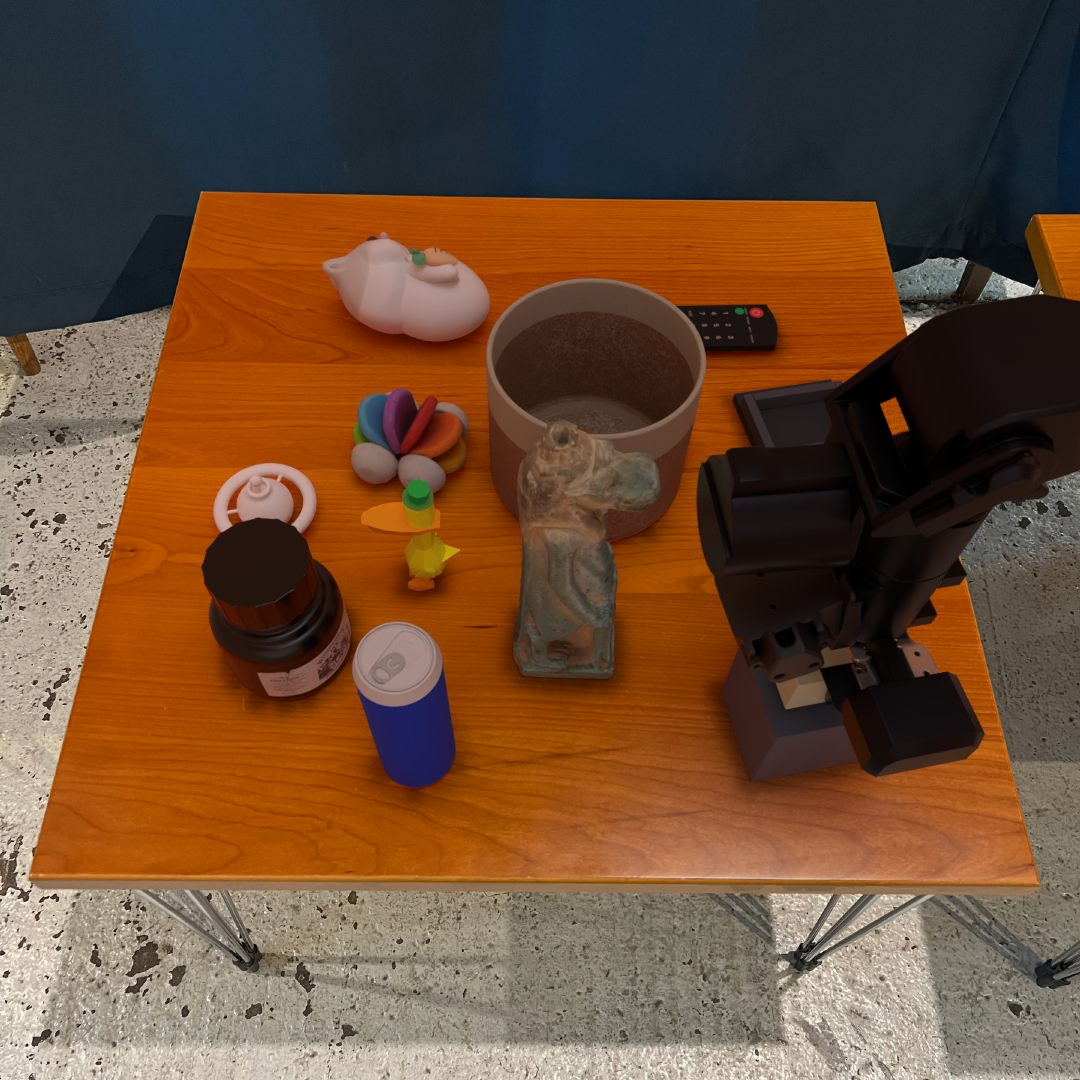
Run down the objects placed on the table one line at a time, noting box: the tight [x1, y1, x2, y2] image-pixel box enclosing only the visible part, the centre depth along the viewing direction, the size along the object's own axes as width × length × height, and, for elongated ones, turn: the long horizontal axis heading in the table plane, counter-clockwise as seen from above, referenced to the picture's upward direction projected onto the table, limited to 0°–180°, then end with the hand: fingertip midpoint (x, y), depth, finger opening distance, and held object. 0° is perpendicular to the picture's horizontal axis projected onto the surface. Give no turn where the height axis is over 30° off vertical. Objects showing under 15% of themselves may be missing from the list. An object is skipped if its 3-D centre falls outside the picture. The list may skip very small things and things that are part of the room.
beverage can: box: [351, 621, 456, 788], centre depth 61 cm, size 5×5×15 cm
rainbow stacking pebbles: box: [350, 387, 470, 494], centre depth 79 cm, size 8×10×7 cm
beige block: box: [776, 647, 853, 709], centre depth 60 cm, size 6×4×4 cm, turn 102°
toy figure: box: [360, 479, 461, 592], centre depth 70 cm, size 7×4×12 cm, turn 91°
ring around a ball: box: [212, 462, 318, 535], centre depth 76 cm, size 8×6×8 cm
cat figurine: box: [321, 231, 491, 343], centre depth 87 cm, size 10×8×15 cm
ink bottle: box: [200, 517, 353, 701], centre depth 67 cm, size 10×9×12 cm
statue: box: [512, 420, 661, 680], centre depth 62 cm, size 7×8×25 cm
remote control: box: [675, 303, 779, 353], centre depth 89 cm, size 5×24×1 cm, turn 92°
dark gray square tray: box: [732, 379, 844, 447], centre depth 83 cm, size 9×10×2 cm
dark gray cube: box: [720, 647, 858, 783], centre depth 66 cm, size 8×7×8 cm
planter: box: [485, 277, 707, 543], centre depth 75 cm, size 16×16×14 cm
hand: (820, 670), depth 62 cm, fingers closed on beige block, 4 cm apart
